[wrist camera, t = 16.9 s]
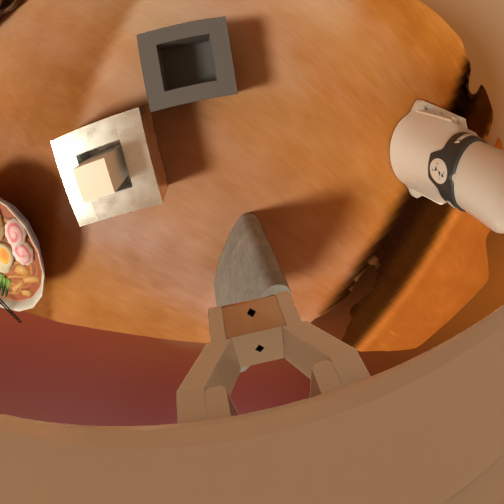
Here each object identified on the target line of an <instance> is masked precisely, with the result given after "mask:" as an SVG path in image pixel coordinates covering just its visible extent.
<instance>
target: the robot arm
mask: <svg viewBox="0 0 504 504" xmlns="http://www.w3.org/2000/svg"><path fill="white" fill-rule="evenodd" d="M390 160H391V165H392V168H393V171H394V173H395V175H396V176H397V178H398V179H399V180H400V181H401V182H403V183H404V184H405V185H406V186H407V187H408V189H409V192H410V194H411V195H412V196H413V197H416V198H419V197H421V196H425V197H427V198H429V199H430V200H432V201H434V202H436V203H438V204H441V205H442V204H443V203H449V204H450V205H451V206H453V207H454V208H456V209H459V210H460V211H464V212H468V213H469V214H470V215H472V216H473V217H475V218H476V219H478V220H479V221H480V222H482V223H483V224H484V225H486V226H487V227H488V228H490V229H491V230H492V231H494V232H496V233H504V151H503V150H501V149H499V148H496V147H494V146H491V145H489V144H487V143H486V142H485V141H484V140H483V139H481V138H480V137H478V135H477V134H476V132H474V131H471V130H469V129H468V128H467V124H466V119H465V118H463V117H460V116H458V115H456V114H453V113H451V112H449V111H447V110H445V109H442V108H440V107H438V106H435V105H433V104H430V103H428V102H425V101H423V100H420V99H418V100H416V101H415V103H414V105H413V107H412V109H411V111H410V112H409V113H408V114H407V115H406V116H405V117H404V118H403V119H402V120H401V121H400V122H399V123H398V125H397V127H396V128H395V131H394V133H393V136H392V139H391V144H390ZM208 319H209V329H210V339H211V342H210V343H207V344H206V346H205V347H204V349H203V350H202V352H201V353H200V355H199V357H198V358H197V360H196V361H195V363H194V365H193V366H192V368H191V369H190V371H189V372H188V374H187V376H186V377H185V379H184V380H183V382H182V384H181V385H180V387H179V388H178V390H177V418H178V424H167V425H153V426H152V425H151V426H114V427H113V426H86V425H72V424H61V423H51V422H44V421H37V420H31V419H25V418H19V417H14V416H10V415H4V414H2V415H0V504H504V305H502V306H501V307H499V308H498V309H497V310H495V311H494V312H492V313H491V314H489V315H488V316H486V317H485V318H483V319H482V320H480V321H479V322H477V323H476V324H474V325H472V326H471V327H469V328H468V329H466V330H464V331H463V332H461V333H459V334H457V335H456V336H454V337H452V338H451V339H449V340H447V341H445V342H443V343H442V344H440V345H438V346H436V347H434V348H432V349H430V350H428V351H426V352H424V353H422V354H421V355H418V356H416V357H414V358H412V359H410V360H408V361H406V362H404V363H402V364H399V365H397V366H395V367H393V368H391V369H388V370H386V371H384V372H381V373H379V374H376V375H374V376H370V375H369V373H368V371H367V369H366V367H365V365H364V363H363V361H362V359H361V357H360V356H359V354H358V352H357V350H356V349H355V348H353V347H351V346H349V345H348V344H346V343H344V342H342V341H340V340H338V339H337V338H335V337H333V336H331V335H330V334H328V333H326V332H325V331H323V330H321V329H319V328H317V327H316V326H314V325H312V324H311V323H309V322H307V321H301V319H300V316H299V314H298V312H297V310H296V307H295V305H294V303H293V301H292V298H291V296H290V294H289V292H288V291H285V292H282V293H278V294H274V295H270V296H266V297H262V298H258V299H253V300H249V301H245V302H240V303H234V304H229V305H224V306H220V307H215V308H209V309H208ZM281 358H285V359H286V360H287V361H289V362H290V363H291V364H292V365H293V366H295V367H296V368H297V369H298V370H300V371H301V372H302V373H303V374H305V375H306V376H307V377H308V378H310V379H311V387H310V398H308V399H304V400H300V401H297V402H294V403H290V404H286V405H282V406H278V407H274V408H269V409H265V410H261V411H256V412H252V413H246V414H241V415H238V413H237V411H236V408H235V406H234V405H233V402H232V400H231V398H230V394H231V391H232V389H233V386H234V384H235V382H236V380H237V377H238V375H239V372H240V370H241V368H242V367H247V366H250V365H255V364H258V363H263V362H267V361H272V360H276V359H281Z"/></svg>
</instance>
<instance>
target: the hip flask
mask: <svg viewBox="0 0 504 504" xmlns="http://www.w3.org/2000/svg"><path fill="white" fill-rule="evenodd" d="M214 288H215V296H216V304H217V307H220V306H224V305H229V304H234V303H240V302H245V301H249V300H253V299H258V298H262V297H266V296H270V295H274V294H278V293H282V292H285V291H288V292H289V294H290V296H291V290H290V288H289V286H288V284H287V281H286V279H285V277H284V275H283V272H282V270H281V268H280V266H279V264H278V261H277V259H276V257H275V255H274V252H273V250H272V248H271V246H270V244H269V242H268V239H267V237H266V235H265V233H264V231H263V228H262V226H261V224H260V222H259V220H258V218H257V216H256V215H255V214H253V213H245V214H243V215H242V216H241V217H240V218H239V219H238V221H237V223H236V224H235V226H234V228H233V229H232V231H231V233H230V235H229V237H228V239H227V241H226V243H225V246H224V248H223V251H222V254H221V256H220V259H219V263H218V266H217V270H216V275H215V283H214ZM248 367H249V366H247V367H242V368H241V370H240V372H242V371H245V370H246V369H247V368H248Z"/></svg>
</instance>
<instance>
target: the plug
mask: <svg viewBox="0 0 504 504" xmlns="http://www.w3.org/2000/svg"><path fill="white" fill-rule="evenodd" d="M73 173H74V176H75V179H76V182H77V185H78V188H79V191H80V194H81V197H82V199H83V202H84V203H85V202H88V201H91V200H94V199H97V198H100V197H103V196H107V195H110V194H113V193H115V192H116V191H117V189H118V188H119V187H120V185H121V184H122V183H123V181H124V180H125V179H126V177H127V176H128V175H129V172H128V169H127V165H126V161H125V158H124V154H123V150H122V147H121V144H119V145H116V146H113V147H110V148H107V149H105V150H102V151H99V152H97V153H95V154H94V155H92V156H91V157H89V158H88V159H86V160H85V161H84V162H82V163H81V164H79V165H78V166H77V167H75V168H74V169H73Z"/></svg>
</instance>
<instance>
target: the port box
mask: <svg viewBox="0 0 504 504" xmlns="http://www.w3.org/2000/svg"><path fill="white" fill-rule="evenodd" d="M50 142H51V145H52V149H53V152H54V156H55V159H56V162H57V166H58V169H59V172H60V175H61V178H62V181H63V184H64V187H65V190H66V193H67V195H68V198H69V201H70V203H71V206H72V209H73V211H74V214H75V216H76V219H77V221H78V224H79V226H80V227H81V226H84V225H87V224H90V223H94V222H97V221H100V220H104V219H107V218H110V217H114V216H117V215H121V214H125V213H128V212H132V211H136V210H139V209H143V208H147V207H151V206H155V205H159V204H163V201H164V198H165V194H166V191H167V187H168V183H167V179H166V175H165V171H164V167H163V163H162V159H161V155H160V151H159V146H158V142H157V138H156V133H155V129H154V124H153V120H152V115H151V112H150V108H149V105H146V106H142V107H138V108H134V109H131V110H128V111H125V112H122V113H119V114H116V115H113V116H110V117H108V118H105V119H102V120H99V121H97V122H94V123H92V124H89V125H87V126H84V127H82V128H79V129H77V130H75V131H72V132H70V133H68V134H65V135H63V136H61V137H59V138H57V139H55V140H52V141H50ZM119 144H121V147H122V150H123V154H124V158H125V161H126V165H127V169H128V172H129V175H128V176H127V177H126V179H125V180H124V181H123V183H122V184H121V185H120V187H119V188H118V189H117V191H116V192H115V193H113V194H110V195H107V196H103V197H100V198H97V199H94V200H91V201H88V202H85V203H84V202H83V199H82V197H81V194H80V191H79V188H78V185H77V182H76V179H75V176H74V173H73V169H74V168H75V167H77V166H78V165H79V164H81V163H82V162H84V161H85V160H86V159H88V158H89V157H91V156H92V155H94V154H95V153H97V152H99V151H102V150H105V149H107V148H110V147H113V146H116V145H119Z"/></svg>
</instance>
